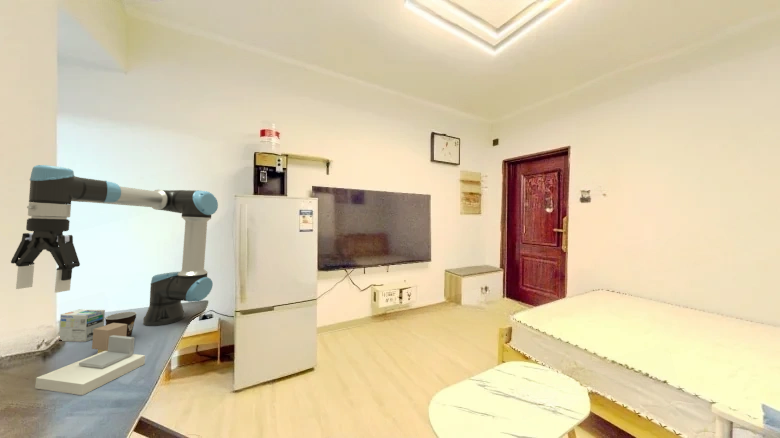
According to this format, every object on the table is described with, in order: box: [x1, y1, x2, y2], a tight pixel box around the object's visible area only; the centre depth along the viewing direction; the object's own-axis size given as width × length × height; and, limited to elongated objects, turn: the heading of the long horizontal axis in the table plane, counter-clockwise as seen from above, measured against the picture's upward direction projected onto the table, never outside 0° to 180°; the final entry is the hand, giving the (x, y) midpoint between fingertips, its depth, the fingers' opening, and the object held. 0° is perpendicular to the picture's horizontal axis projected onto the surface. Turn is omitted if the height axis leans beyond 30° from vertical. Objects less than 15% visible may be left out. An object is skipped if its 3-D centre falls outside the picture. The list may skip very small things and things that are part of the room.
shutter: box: [79, 335, 135, 368], centre depth 82 cm, size 8×8×6 cm
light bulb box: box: [58, 308, 106, 343], centre depth 102 cm, size 11×7×11 cm, turn 92°
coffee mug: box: [104, 311, 137, 337], centre depth 103 cm, size 12×9×10 cm
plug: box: [91, 323, 127, 354], centre depth 92 cm, size 6×6×10 cm
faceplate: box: [34, 351, 146, 396], centre depth 79 cm, size 16×16×3 cm
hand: (43, 289), depth 74 cm, fingers open, 13 cm apart
